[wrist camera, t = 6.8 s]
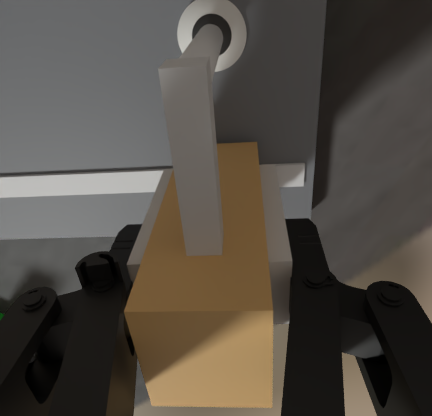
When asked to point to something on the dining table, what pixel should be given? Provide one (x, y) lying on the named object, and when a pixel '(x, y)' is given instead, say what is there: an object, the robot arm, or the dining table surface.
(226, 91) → the plate
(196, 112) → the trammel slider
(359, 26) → the dining table surface
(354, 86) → the dining table surface
